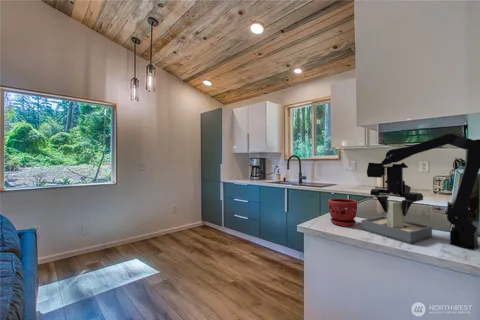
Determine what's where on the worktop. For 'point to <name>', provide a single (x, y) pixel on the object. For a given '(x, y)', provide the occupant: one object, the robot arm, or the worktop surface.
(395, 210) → the skincare box
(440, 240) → the worktop surface
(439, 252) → the worktop surface
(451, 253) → the worktop surface
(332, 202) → the plant pot
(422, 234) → the socket box
